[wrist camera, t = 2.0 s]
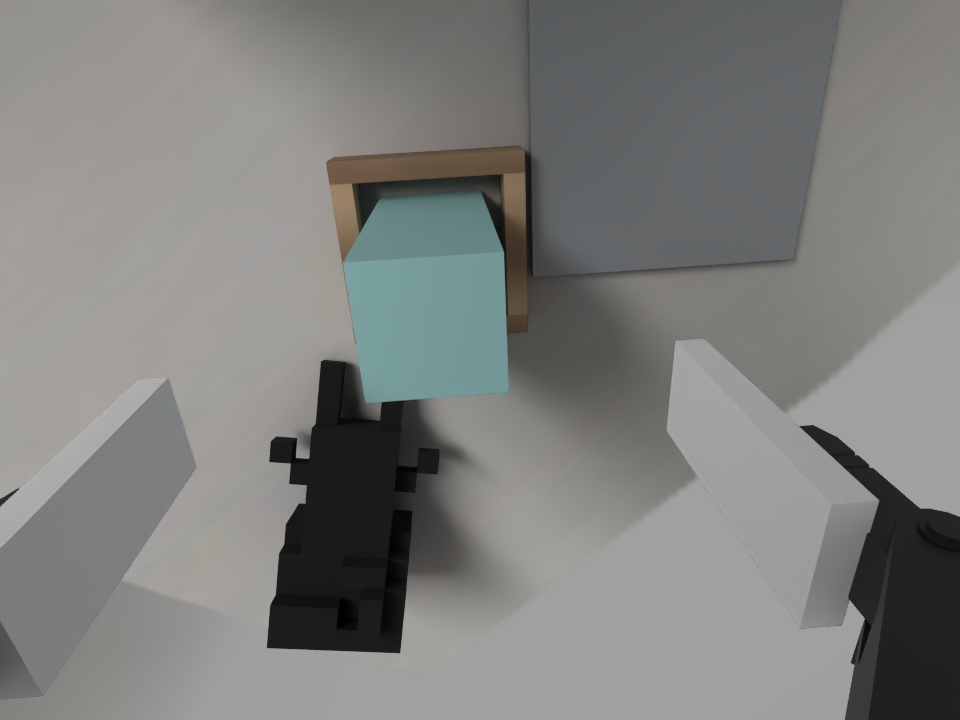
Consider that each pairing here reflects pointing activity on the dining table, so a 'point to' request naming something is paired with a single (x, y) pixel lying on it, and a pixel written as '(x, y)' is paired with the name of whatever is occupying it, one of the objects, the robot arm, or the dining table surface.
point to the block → (429, 299)
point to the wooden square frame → (443, 165)
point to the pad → (672, 130)
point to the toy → (345, 531)
